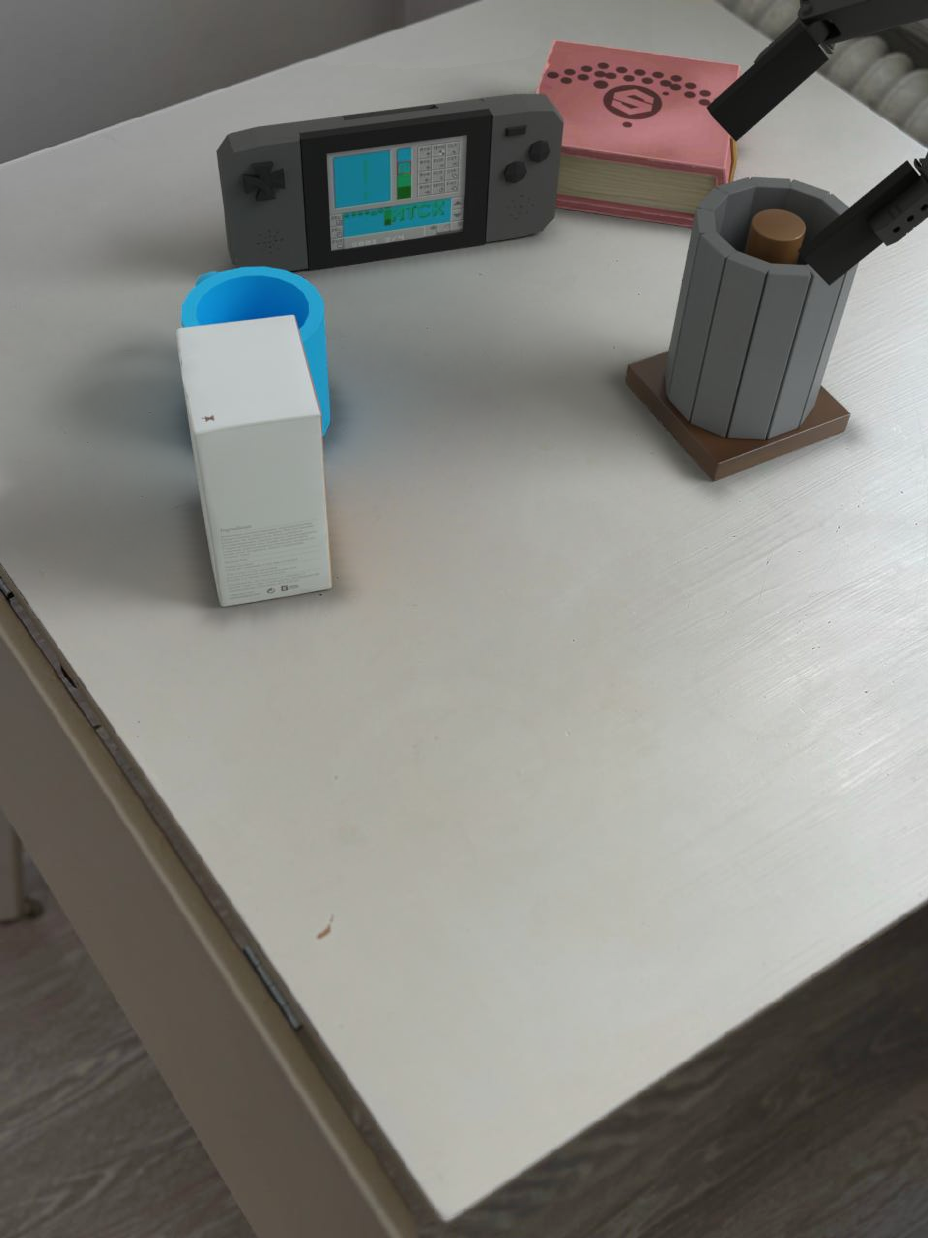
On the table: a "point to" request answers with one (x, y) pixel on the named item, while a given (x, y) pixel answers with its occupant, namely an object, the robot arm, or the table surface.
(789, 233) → the stand
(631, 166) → the book
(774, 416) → the slatted grey tube
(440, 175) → the handheld gaming console
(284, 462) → the small box
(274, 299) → the mug
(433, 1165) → the table surface
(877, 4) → the robot arm
